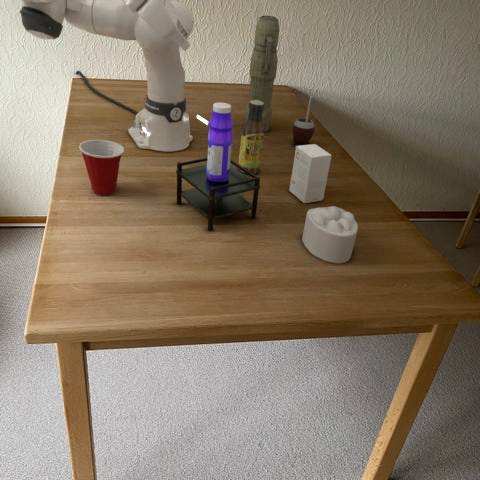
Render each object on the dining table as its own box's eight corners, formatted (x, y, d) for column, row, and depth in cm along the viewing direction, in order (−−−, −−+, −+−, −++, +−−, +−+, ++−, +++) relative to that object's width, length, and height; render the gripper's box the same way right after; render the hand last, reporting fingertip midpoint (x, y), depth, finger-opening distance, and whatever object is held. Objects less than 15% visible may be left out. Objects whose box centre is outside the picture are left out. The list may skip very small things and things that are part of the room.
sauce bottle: (243, 176, 147) (249, 106, 135) (234, 167, 152) (240, 99, 140) (263, 174, 150) (271, 105, 138) (254, 165, 154) (261, 98, 142)
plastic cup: (129, 199, 131) (126, 154, 124) (85, 201, 128) (80, 155, 121) (124, 180, 139) (121, 137, 132) (82, 182, 136) (77, 138, 129)
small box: (323, 200, 139) (332, 155, 131) (303, 204, 137) (311, 157, 129) (307, 187, 145) (315, 143, 137) (288, 190, 142) (295, 145, 134)
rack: (175, 203, 131) (176, 162, 125) (221, 192, 138) (223, 153, 132) (209, 231, 121) (211, 189, 115) (256, 218, 128) (261, 177, 122)
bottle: (205, 170, 127) (209, 99, 116) (228, 171, 127) (233, 100, 117) (206, 183, 121) (209, 109, 111) (230, 184, 122) (235, 111, 111)
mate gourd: (297, 149, 167) (304, 102, 158) (285, 140, 173) (292, 94, 164) (316, 147, 170) (324, 101, 161) (304, 138, 175) (312, 93, 166)
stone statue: (264, 121, 186) (276, 13, 164) (274, 134, 177) (288, 21, 156) (240, 122, 183) (249, 12, 162) (249, 134, 174) (260, 20, 153)
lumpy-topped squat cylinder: (335, 231, 126) (342, 199, 121) (361, 260, 117) (370, 227, 111) (297, 235, 123) (302, 203, 118) (320, 265, 114) (328, 232, 108)
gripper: (133, -9, 114) (177, 42, 121) (125, 7, 97) (176, 65, 105) (153, -31, 111) (196, 23, 119) (148, -18, 95) (199, 42, 102)
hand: (187, 42), depth 111 cm, fingers open, 8 cm apart
